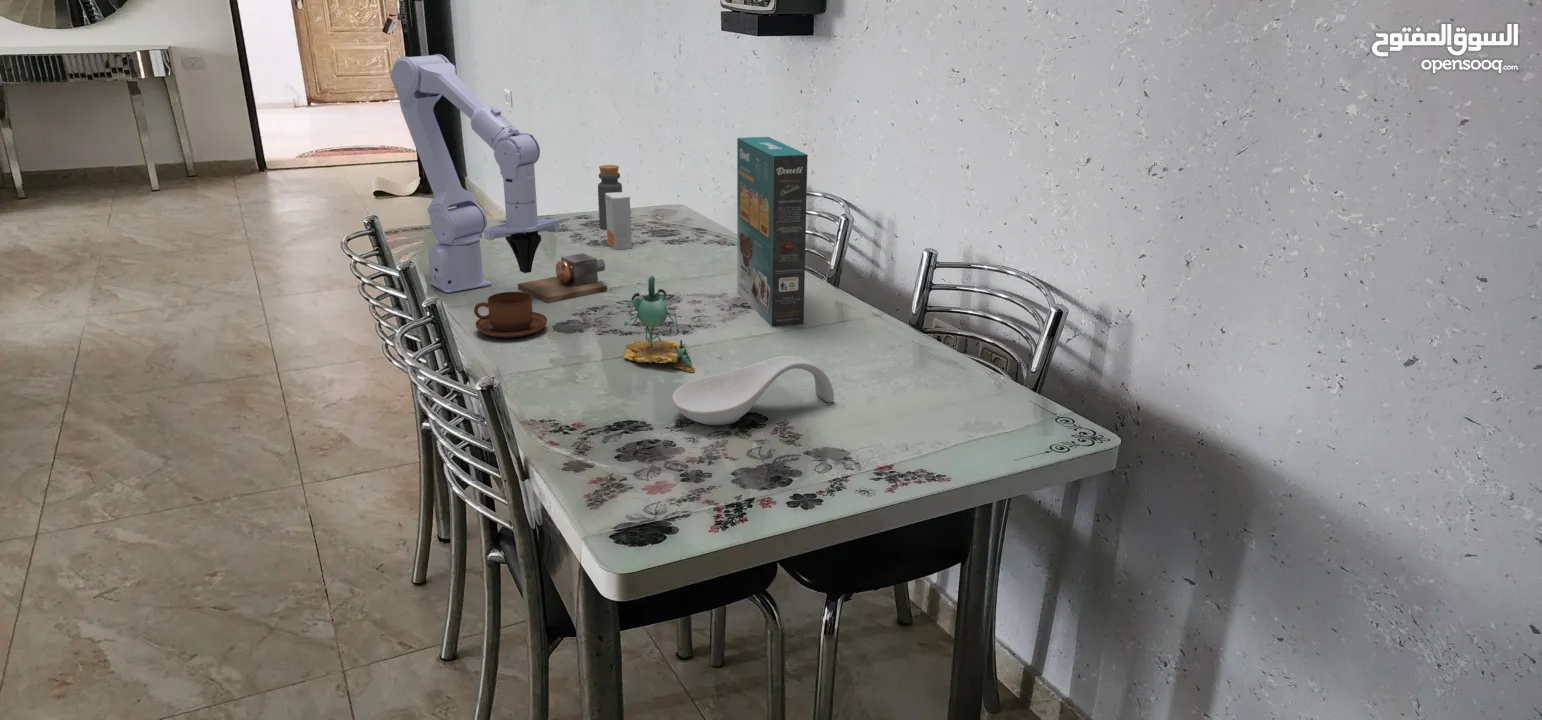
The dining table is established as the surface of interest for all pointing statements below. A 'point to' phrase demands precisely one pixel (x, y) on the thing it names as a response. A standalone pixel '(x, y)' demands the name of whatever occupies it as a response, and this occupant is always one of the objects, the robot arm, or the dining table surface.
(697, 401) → the spoon rest
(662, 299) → the teal creature figurine
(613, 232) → the skincare box
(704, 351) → the dining table surface
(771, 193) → the cake mix box
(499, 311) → the cup and saucer
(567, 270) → the shaft
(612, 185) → the bottle
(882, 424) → the dining table surface
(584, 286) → the stand
